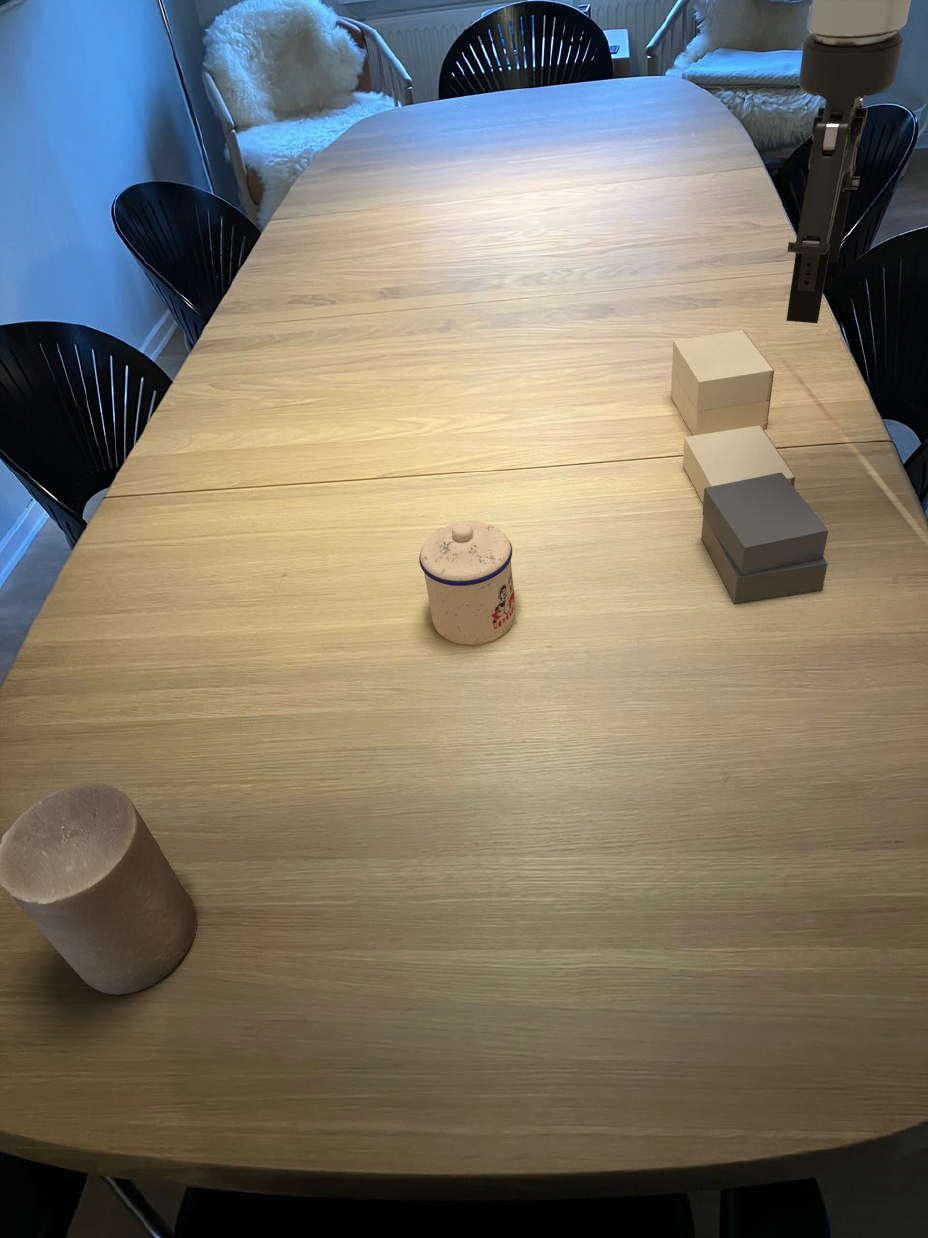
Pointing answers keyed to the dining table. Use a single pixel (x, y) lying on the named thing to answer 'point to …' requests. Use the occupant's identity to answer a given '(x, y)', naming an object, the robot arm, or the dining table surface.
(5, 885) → the pillar candle
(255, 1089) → the dining table surface
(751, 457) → the cream book
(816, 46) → the robot arm
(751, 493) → the grey books
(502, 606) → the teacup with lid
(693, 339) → the cream books
